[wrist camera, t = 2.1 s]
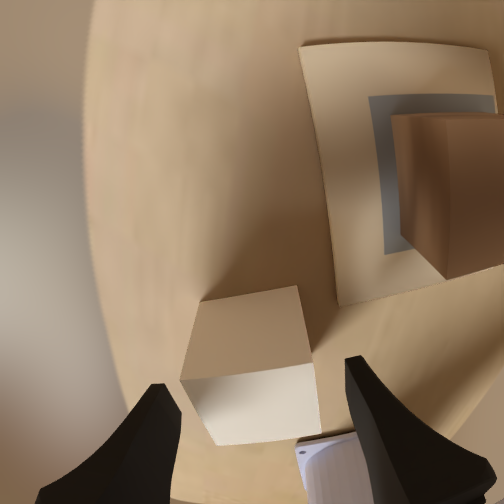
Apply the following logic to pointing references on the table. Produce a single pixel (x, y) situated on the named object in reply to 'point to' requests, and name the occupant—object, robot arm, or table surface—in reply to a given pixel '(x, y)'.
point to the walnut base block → (452, 188)
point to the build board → (381, 148)
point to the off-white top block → (252, 368)
